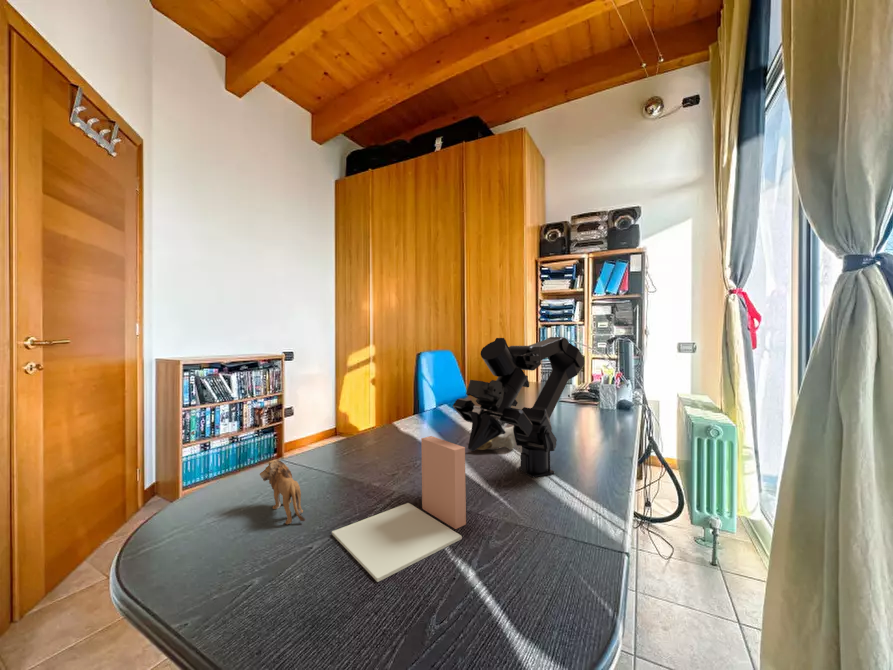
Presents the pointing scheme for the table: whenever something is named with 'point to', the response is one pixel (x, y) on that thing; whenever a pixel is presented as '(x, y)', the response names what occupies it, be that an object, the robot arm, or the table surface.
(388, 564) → the rubber mat
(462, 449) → the terracotta board
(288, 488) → the lion figurine
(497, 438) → the ceramic sculpture
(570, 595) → the table surface
